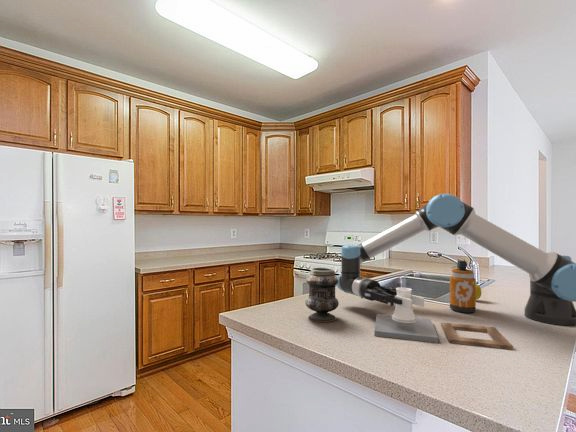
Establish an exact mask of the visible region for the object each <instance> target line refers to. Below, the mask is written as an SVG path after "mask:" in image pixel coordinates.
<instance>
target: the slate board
mask: <svg viewBox="0 0 576 432" xmlns="http://www.w3.org/2000/svg"><path fill="white" fill-rule="evenodd" d="M374 325H375V326H374V336H375V337H381V338H393V339H401V340H410V341H419V342H427V343H438V344H439V336H438V334H437V331H436V330H435V329H436V328H435V325H434V324H433V321H432V319H431V318H424V317H416V322H413V323H402V322H398V321H395V320H393V319H392V314H391V315H390V314H389V315H388V314H378V313H376V317H375V324H374Z"/></svg>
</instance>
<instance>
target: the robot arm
mask: <svg viewBox="0 0 576 432" xmlns="http://www.w3.org/2000/svg"><path fill="white" fill-rule="evenodd" d="M475 210H476V209H475V208H474V207H473V206H471V205H469V204H467V203H465V202H463V201H462V200H461V198H459V197H457V196H456V195H454V194H452V193H439V194H437V195H435V196H433V197H432V198H431V199H430V200H429V201H428V202H427V204H424V206H422V207H420V208H419V209H417V210H416V211H415V214H413V215H411V216H409V217H407V218H406V219H404V220H402V221H400V222H398V223H396V224H395V225H393V226H391V227H390V228H387V229H385V230H384V231H382V232H380V233H378V234H376V235H375V236H373V237H371V238H369V239H367V240H365V241H363V242H361V243H360V244H358V245H356V244H344V245H342V246H341V253H340V256H341V259H340V260H341V273H339V274H338V275H337V277H338V280H339V281H338V283H337V284H336V286H337V288H338V289H339V290H340V291H342V292H344V293H346V294H350V295H353V296H356V297H359V298H360V299H366V300H368V301H371V302H373V301H376V302H379V303H382V304H386V305H388V304H389V305H390V307H391V306H392V307H395V305H396V304H397V305H400V306H403V307H406V308H409V309H413V305H414V306H418V307H421V308H423V307H425V298H424V297H421V296H419V295H418V296H417V295H414V294H412V292H411V299H407V298H404V297H400V296H397V291H396V288H397V287H396V288H395V287H394V286H391V287H386V286H382V285H381V284H380V282H379V281H377V280H375V279H371V278H367V277H363V276H361V264H362V263H364V262H366V261H369V260H370V259H372V258H373V257H376V256H377V255H379V254H382V253H384V252H385V251H388V250H390V249H392V248H393V247H395V246H398V245H399V244H401V243H403V242H405V241H407V240H409V239H411V238H414V237H415V236H416V235H418V234H421V233H423V232H425V231H427V232H430V231H432V230H434V229H436V228H441V229H443V230H445V231H446V232H448V234H449V233H450V234H451V235H453V236H457V235H461V236H463V237H465V238H466V239H468V240H470V241H472V242H474V243H475V244H476V245H479V246H480V247H482V248H483V249H486V250H487V251H489V252H491V253H492V254H494V255H496V256H497V257H499V258H501V259H502V260H505V261H506V262H507V263H510V264H511V265H513V266H515V267H516V268H518V269H520V270H522V271H524V272H526V274H528V276H529V288H530V289H529V291H530V292H529V297H528V300H527V303H526V305H525V307H524V316H525V317H526V318H527V319H531V320H533V321H537V322H541V323H545V324H550V325H551V324H552V325H556V326H557V325H559V326H576V307H575V304H574V302H575V303H576V263H575V262H574V261H572V257H571V256H570V255H561V254H559V253H557V252H555V251H551V252H550V251H549V252H545V251H543V250H541V249H539V248H538V247H536V246H534V245H532V244H530V243H529V242H527V241H525V240H523V239H521V238H520V237H518V236H516V235H514V234H513V233H512V232H509V231H507V230H505V229H503V228H501V227H500V226H498V225H496V224H494V223H493V222H490V221H488V220H487V219H485V218H483V217H482V216H480V215H478V214H477V213H476V211H475Z"/></svg>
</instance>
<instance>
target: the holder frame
mask: <svg viewBox="0 0 576 432" xmlns="http://www.w3.org/2000/svg"><path fill="white" fill-rule="evenodd" d="M440 327H441V329H442V332H443V333H444V335H445V337H446V340H447V342H448V343H449V344H457V345H467V346H476V347H484V348H494V349H504V350H511V351H512V350H514V345H512V343H511V342H510V341H509V340H508V339H506V337H505V336H504V335H503V334H502V333H501V332H500V331H499V330H498V329H497V328H496V327H495V326H483V325H473V324H463V323H452V322H443V321H441V322H440ZM456 330H457V331H458V330H459V331H466V332H467V331H469V332H478V333H479V332H480V333H486V334H488V335H489V337H490V338H491V339H492V340H491V339H482V338H472V337H465V336H464V337H463V336H458V334H457V332H456Z"/></svg>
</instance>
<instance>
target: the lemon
mask: <svg viewBox="0 0 576 432" xmlns="http://www.w3.org/2000/svg"><path fill="white" fill-rule="evenodd" d="M481 297H482V288H481V286H480V285H479V284H477V283H476V301H477V300H479V299H480V298H481Z"/></svg>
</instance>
